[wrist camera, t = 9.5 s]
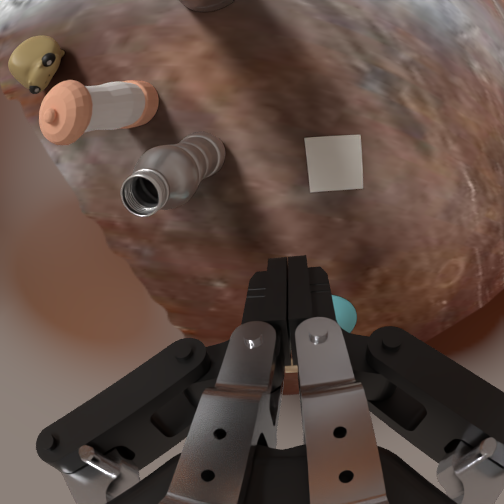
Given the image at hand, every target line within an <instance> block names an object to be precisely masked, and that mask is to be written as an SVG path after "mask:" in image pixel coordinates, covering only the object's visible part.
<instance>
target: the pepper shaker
mask: <svg viewBox="0 0 504 504" xmlns="http://www.w3.org/2000/svg"><path fill="white" fill-rule="evenodd" d="M158 104H159V98H158V93H157V91H156V89H155V88H154V87H153V86H152V85H151V84H150V83H147V82H144V81H136V80H129V81H124V82H110V83H106V84H102V85H98V86H84V85H83V84H81V83H80V82H78V81H74V80H67V81H63V82H60V83H58V84H57V85H56V86H54V87H53V88H52V89H51V90H50V91H49V92H48V93H47V95H46V96H45V97H44V100H43V102H42V104H41V108H40V112H39V123H40V128H41V131H42V133H43V135H44V136H45V137H46V138H47V139H48V140H49V141H50V142H52V143H54V144H56V145H69V144H71V143H73V142H75V141H76V140H77V139H78V138H79V137H80V136H81V135H82V134H83V133H85V132H88V131H93V130H115V129H118V128H132V127H137V126H141V125H144V124H146V123H147V122H149V121H150V120H151V119H152V118H153V116H154V115H155V114H156V111H157V109H158Z"/></svg>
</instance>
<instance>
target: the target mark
mask: <svg viewBox="0 0 504 504" xmlns="http://www.w3.org/2000/svg"><path fill="white" fill-rule="evenodd" d="M332 300H333V305H334V310H335V315H336V320H337V322H338V324H339V326H340V327H341V328H342V329H344V330H345V331H347V332H349V333H350V332H351V331H352V330H353V328H354V326H355V324H356V320H357V315H356V311H355V308H354V307H353V305H352V304H351V303H350V302H349V301H347V300H346V299H344V298H342V297H339V296H335V295H332Z"/></svg>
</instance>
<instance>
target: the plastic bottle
mask: <svg viewBox="0 0 504 504" xmlns="http://www.w3.org/2000/svg"><path fill="white" fill-rule="evenodd" d="M225 153H226V152H225V147H224V145H223V143H222V141H221V140H220V139H219V138H218V137H216V136H215V135H213V134H211V133H207V132H194V133H192V134H189V135H188V136H186V137H185V138H184V139H183V140H182V141H180V143H178V144H173V145H161V146H157V147H154V148H151V149H149V150H148V151H146V152H145V153H144V154H143V155H142V156H141V157H140V159H139V160H138V162H137V163H136V165H135V168H134V171H133V174H132V175H131V176H130V177H128V178H127V179H126V180H125V181H124V183H123V185H122V187H121V199H122V202H123V204H124V206H125V207H126V209H127V210H128V211H129V212H131V213H132V214H134V215H136V216H139V217H148V216H151V215H152V214H154V213H156V212H157V211H158V210H159V209H162V210H168V209H173V208H177V207H180V206H182V205H184V204H185V203H187V202H188V201H189V200H190V199H191V197H192V196H193V195H194V193H195V192H196V190H197V188H198V186H199V183H200V182H201V181H202V179H204V178H207V177H209V176H212V175H213V174H215V173H217V172H218V171H219V170H220V169H221V167H222V165H223V163H224V160H225Z"/></svg>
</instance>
